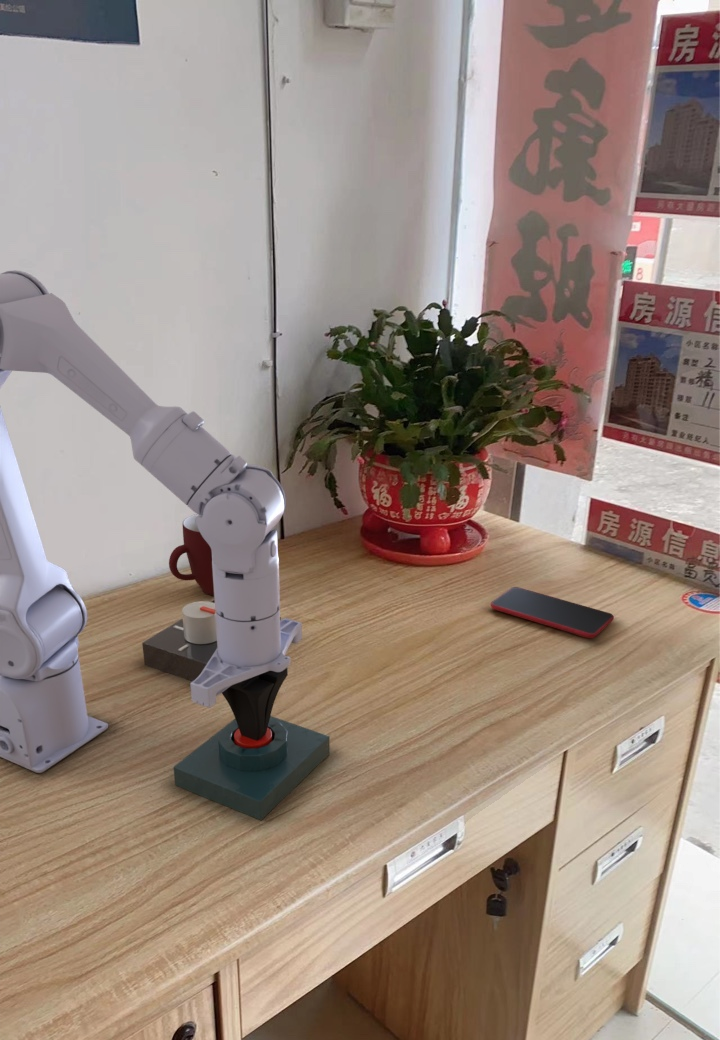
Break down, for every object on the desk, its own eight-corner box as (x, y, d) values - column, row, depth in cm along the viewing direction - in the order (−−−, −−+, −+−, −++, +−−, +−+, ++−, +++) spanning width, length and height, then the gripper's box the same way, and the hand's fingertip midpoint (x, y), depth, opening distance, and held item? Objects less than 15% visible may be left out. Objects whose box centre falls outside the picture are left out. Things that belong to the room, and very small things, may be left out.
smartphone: (513, 585, 124) (616, 614, 116) (513, 591, 124) (615, 620, 116) (488, 603, 118) (594, 635, 111) (487, 609, 119) (593, 641, 111)
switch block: (261, 820, 80) (259, 785, 78) (174, 785, 84) (171, 751, 82) (329, 754, 89) (330, 721, 87) (248, 725, 93) (247, 693, 91)
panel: (212, 687, 100) (210, 663, 98) (144, 664, 104) (141, 641, 102) (281, 638, 111) (280, 615, 109) (217, 619, 115) (216, 597, 113)
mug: (192, 612, 116) (186, 542, 111) (160, 592, 122) (154, 524, 117) (257, 591, 122) (255, 523, 118) (225, 573, 128) (221, 507, 123)
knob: (176, 638, 104) (173, 609, 102) (200, 623, 107) (198, 595, 105) (206, 647, 102) (204, 618, 100) (229, 632, 105) (227, 604, 103)
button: (258, 764, 83) (257, 749, 82) (227, 753, 85) (226, 737, 84) (279, 745, 86) (279, 730, 85) (249, 734, 88) (248, 720, 87)
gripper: (234, 652, 71) (242, 788, 77) (328, 588, 82) (328, 711, 88) (166, 631, 74) (179, 763, 80) (266, 571, 85) (270, 691, 91)
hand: (253, 734), depth 85 cm, fingers closed, pressing on button
